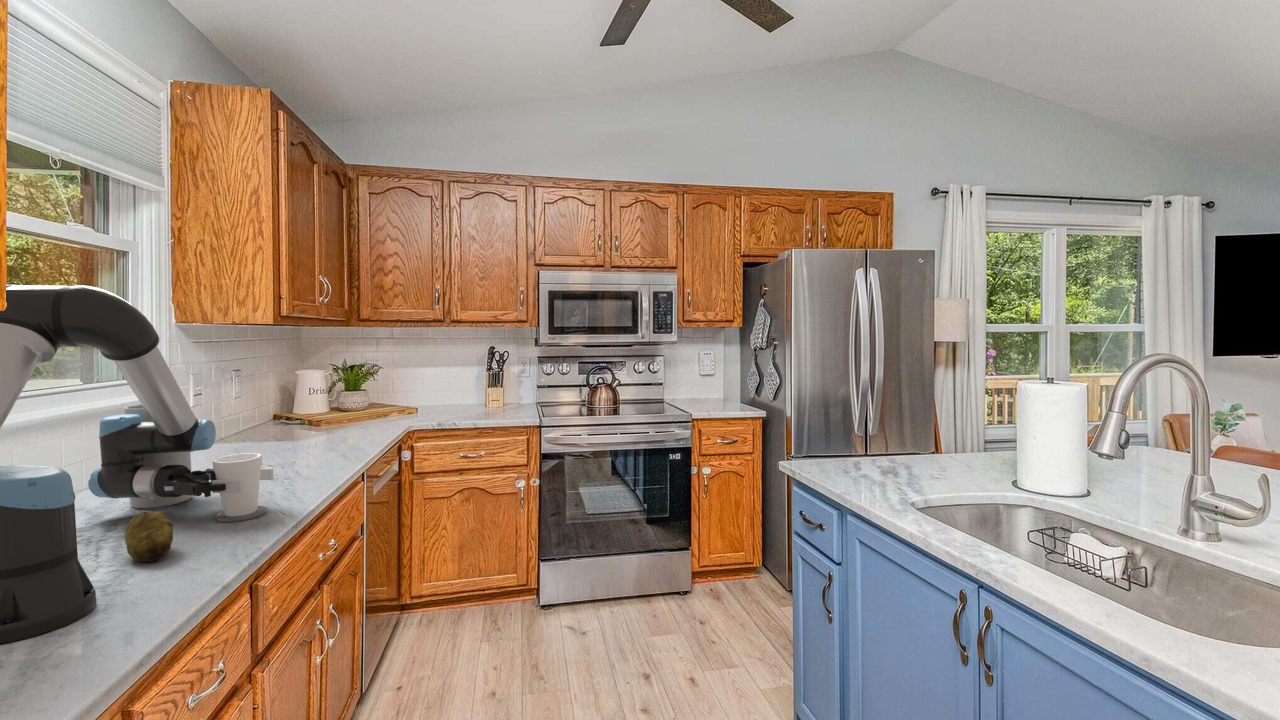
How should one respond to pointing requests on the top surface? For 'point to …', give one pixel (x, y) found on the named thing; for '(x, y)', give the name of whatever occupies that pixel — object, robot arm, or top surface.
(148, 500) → the cylinder vase
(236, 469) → the foam cup
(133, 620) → the top surface
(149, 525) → the potato
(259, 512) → the coaster
